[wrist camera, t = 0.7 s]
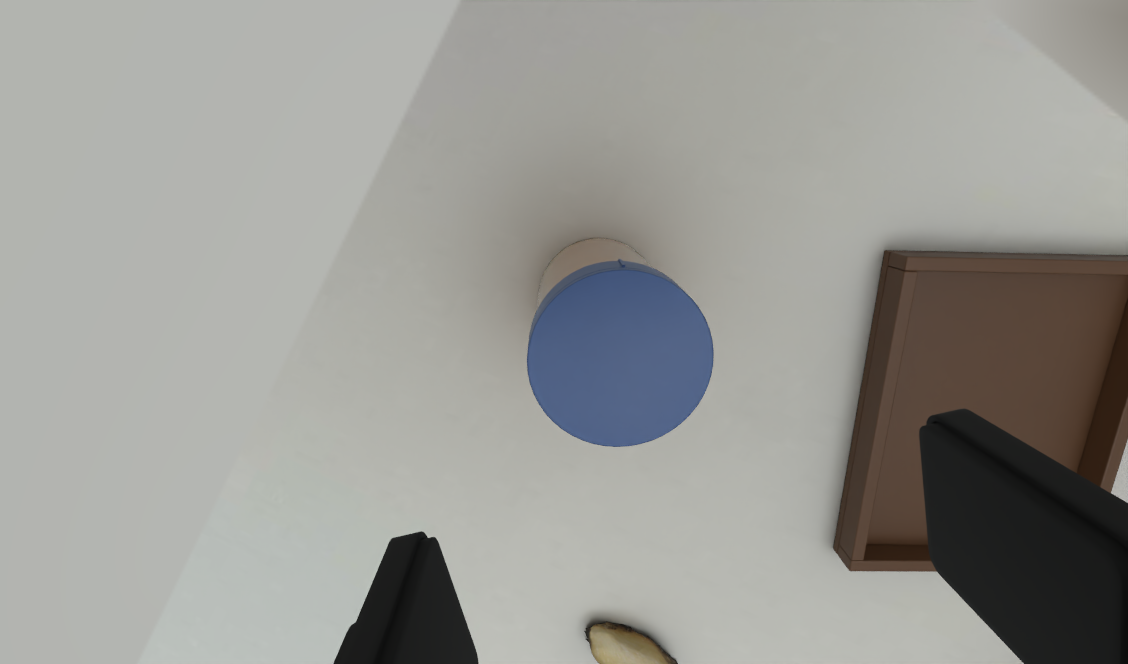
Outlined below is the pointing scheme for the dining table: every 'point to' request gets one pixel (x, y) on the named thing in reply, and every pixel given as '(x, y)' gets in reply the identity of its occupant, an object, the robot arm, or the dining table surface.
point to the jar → (584, 260)
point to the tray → (982, 379)
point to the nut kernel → (624, 646)
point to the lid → (618, 354)
